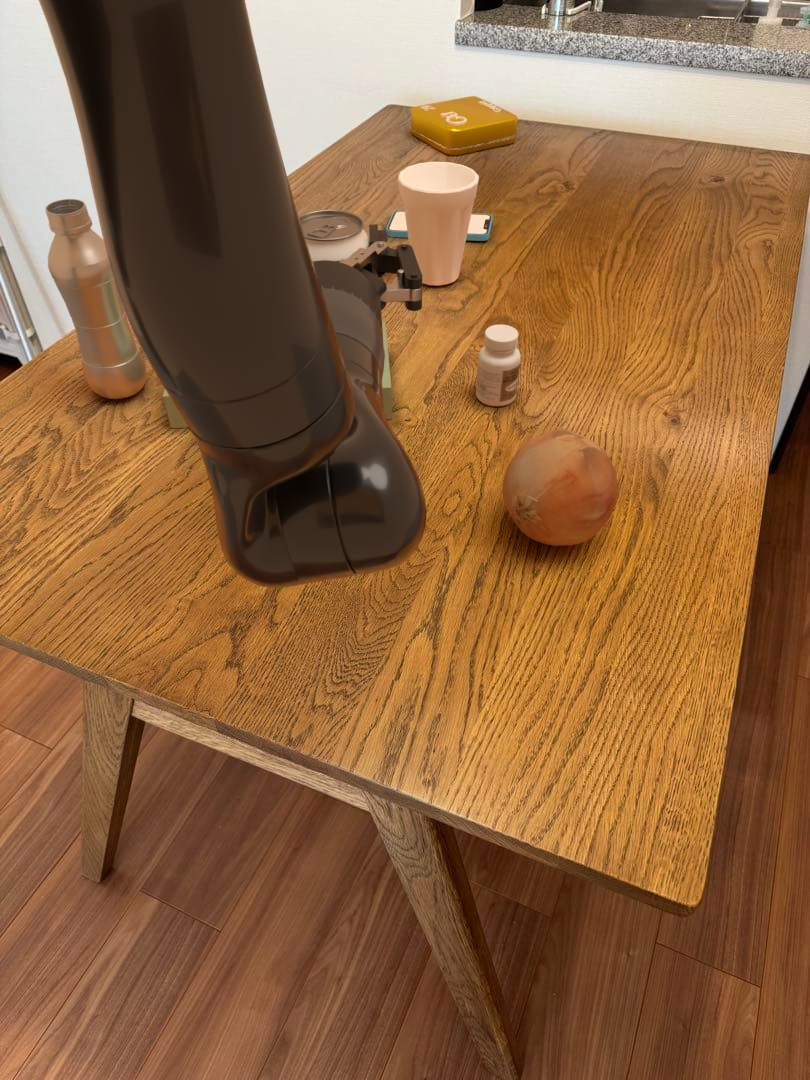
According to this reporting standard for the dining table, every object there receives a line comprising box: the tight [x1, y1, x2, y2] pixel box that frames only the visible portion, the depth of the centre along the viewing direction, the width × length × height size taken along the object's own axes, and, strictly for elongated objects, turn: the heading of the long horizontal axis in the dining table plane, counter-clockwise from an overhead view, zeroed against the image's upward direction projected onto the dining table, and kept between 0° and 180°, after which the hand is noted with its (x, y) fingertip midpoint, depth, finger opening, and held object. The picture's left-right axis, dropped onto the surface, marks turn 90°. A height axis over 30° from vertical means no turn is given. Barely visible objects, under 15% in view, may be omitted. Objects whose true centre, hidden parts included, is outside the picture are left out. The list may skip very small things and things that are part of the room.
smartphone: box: [385, 209, 494, 242], centre depth 115 cm, size 8×1×15 cm
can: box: [298, 209, 370, 261], centre depth 64 cm, size 6×6×12 cm
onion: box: [502, 428, 619, 547], centre depth 67 cm, size 10×10×10 cm
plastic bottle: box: [44, 198, 148, 400], centre depth 79 cm, size 6×7×20 cm
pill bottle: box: [475, 323, 522, 407], centre depth 82 cm, size 4×4×8 cm
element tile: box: [410, 95, 519, 157], centre depth 141 cm, size 15×15×5 cm
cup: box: [397, 161, 480, 286], centre depth 100 cm, size 10×10×13 cm
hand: (329, 237), depth 63 cm, fingers closed on can, 6 cm apart
